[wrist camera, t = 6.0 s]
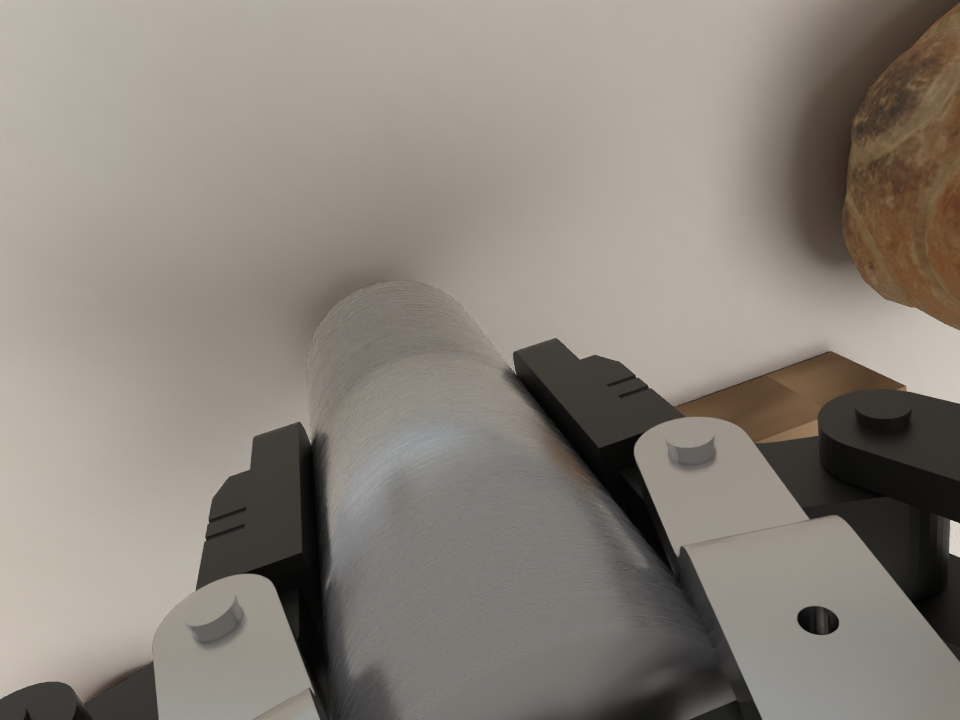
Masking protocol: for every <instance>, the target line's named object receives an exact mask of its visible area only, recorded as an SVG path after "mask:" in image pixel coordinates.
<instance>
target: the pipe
mask: <svg viewBox="0 0 960 720" xmlns="http://www.w3.org/2000/svg"><path fill="white" fill-rule="evenodd" d="M850 134H851V139H852V143H851V148H850V152H849V160H848V171H847V194H846V198H845V202H844V207H843V211H842V228H843V236H844V240H845V244H846V247H847V250H848V252H849V254H850V256H851V258H852V260H853V261H854V263H855V265H856V267H857V269H858V271H859V272H860V274H861V276H862V278H863V279H864V280H865V282H866V283H867V284H869V285H870V286H871V287H872V288H873V289H874V290H876V291H877V292H878V293H879V294H880V295H881V296H882V297H884V298H885V299H887V300H890V301H893V302H896V303H900V304H903V305H906V306H909V307H915V308H917V309H919V310H921V311H923V312H925V313H926V314H928V315H930V316H932V317H934V318H936V319H937V320H939V321H941V322H943V323H945V324H947V325H949V326H951V327H954V328H956V329H958V330H960V2H959V3H958V4H957V5H955V6H954V7H953V8H952V9H951V10H949V11H948V12H947V13H946V14H945V15H943V16H942V17H941V18H940V19H938V20H937V21H936V22H935V23H934V24H932V25H931V26H930V27H929V28H928V29H927V30H926V31H925V33H924V34H923V35H922V36H921V37H920V38H919V39H918V40H917V41H916V42H915V43H914V44H913V45H912V47H911V48H910V49H908V50H907V51H905V52H904V53H902V54H901V55H899V56H898V57H897V58H896V59H895V60H894V61H893V62H892V63H891V64H890V66H889V67H888V68H887V69H886V70H885V71H884V72H883V73H882V74H881V75H880V76H879V77H878V79H877V80H876V81H875V82H874V83H873V84H872V85H871V86H870V88H869V90H868V92H867V93H866V95H865V97H864V99H863V100H862V102H861V104H860V105H859V107H858V109H857V111H856V112H855V114H854V116H853V119H852V126H851V132H850Z"/></svg>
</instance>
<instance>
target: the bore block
mask: <svg viewBox="0 0 960 720" xmlns="http://www.w3.org/2000/svg"><path fill="white" fill-rule="evenodd" d="M872 389H890V390H900V391H906V386H905V385H903V384H901V383H898V382H896V381H894V380H892V379H890V378H888V377H886V376H883V375H881V374H879V373H877V372H875V371H873V370H871V369H868V368H866V367H864V366H862V365H860V364H858V363H856V362H853V361H851V360H849V359H847V358H845V357H843V356H840V355H838V354H836V353H834V352H832V351H831V352H828V353H826V354H823V355H820V356H817V357H814V358H812V359H809V360H806V361H803V362H800V363H798V364H795V365H792V366H789V367H786V368H784V369H781V370H778V371H775V372H773V373H770V374H767V375H764V376H761V377H759V378H756V379H753V380H750V381H747V382H745V383H742V384H739V385H736V386H733V387H731V388H728V389H725V390H722V391H719V392H717V393H714V394H711V395H708V396H705V397H703V398H700V399H697V400H694V401H692V402H689V403H686V404H683V405H680V406H678V407H675V409H677V410H678V411H679V412H680V413H681V414H683V415H684V416H685V417H710V418H717V419H722V420H725V421H728V422H731V423H733V424H735V425H737V426H739V427H740V428H741V429H743V430H744V431H745V432H746V433H747V434H748V436H749V437H750V439H751V440H752V441H753V443H770V442H778V441H785V440H792V439H799V438H806V437H813V436H818V419H817V417H818V413H819V411H820V410H821V408H822V407H823V406H824V405H825V404H826V403H827V402H829V401H831V400H832V399H834V398H836V397H839V396H841V395H844V394H847V393H851V392H856V391H862V390H872Z"/></svg>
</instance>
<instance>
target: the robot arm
mask: <svg viewBox="0 0 960 720" xmlns="http://www.w3.org/2000/svg"><path fill="white" fill-rule="evenodd" d="M513 359H514V366H515V370H516V374H517V377H518V378H519V379H520V380H521V382H522V383H523V384H524V385H525V387H526V388H527V389H528V391H529V392H530V393H531V394H532V396H533V397H534V398H535V399H536V401H537V402H538V403H539V405H540V406H541V407H542V408H543V410H544V411H545V412H546V413H547V415H548V416H549V417H550V418H551V420H552V421H553V422H554V424H555V425H556V426H557V427H558V429H559V430H560V431H561V432H562V434H563V435H564V436H565V438H566V439H567V440H568V441H569V443H570V444H571V445H572V446H573V448H574V449H575V450H576V452H577V453H578V454H579V455H580V457H581V458H582V459H583V460H584V462H585V463H586V464H587V465H588V467H589V468H590V469H591V471H592V472H593V473H594V474H595V476H596V477H597V478H598V479H599V481H600V482H601V483H602V485H603V486H604V487H605V488H606V490H607V491H608V492H609V493H610V495H611V496H612V497H613V498H614V500H615V501H616V502H617V504H618V505H619V506H620V507H621V509H622V510H623V511H624V512H625V514H626V515H627V516H628V518H629V519H630V520H631V521H632V523H633V524H634V525H635V526H636V528H637V529H638V530H639V531H640V533H641V534H642V535H643V537H644V538H645V539H646V540H647V542H648V543H649V544H650V545H651V547H652V548H653V549H654V551H655V552H656V553H657V554H658V556H659V557H660V558H661V559H662V561H663V562H664V563H665V564H666V566H667V567H668V568H669V570H670V571H671V572H672V573H673V575H674V576H675V578H676V580H677V581H678V583H679V584H680V586H681V587H682V589H683V590H684V592H685V594H686V596H687V598H688V599H689V601H690V603H691V605H692V607H693V609H694V610H695V612H696V614H697V616H698V618H699V620H700V621H701V623H702V625H703V627H704V629H705V631H706V633H707V635H708V637H709V639H710V641H711V643H712V645H713V647H714V649H715V653H716V660H717V667H719V668H721V670H722V671H723V672H724V674H725V676H726V678H727V679H728V681H729V683H730V686H731V688H732V690H733V692H734V695H735V697H736V700H735V701H732V702H730V703H728V704H725V705H723V706H720V707H718V708H716V709H713V710H711V711H708V712H706V713H704V714H701V715H699V716H696V717H694V718H692V719H689V720H960V557H957V556H955V555H952V554H950V553H949V536H950V520H953V521H955V522H958V523H960V404H958V403H954V402H950V401H945V400H941V399H937V398H933V397H929V396H925V395H920V394H916V393H912V392H907V391H900V390H890V389H872V390H862V391H856V392H851V393H847V394H844V395H841V396H839V397H836V398H834V399H832V400H831V401H829V402H827V403H826V404H825V405H824V406H823V407H822V408H821V410H820V411H819V413H818V417H817V419H818V436H813V437H806V438H799V439H792V440H785V441H778V442H770V443H753V441H752V440H751V439H750V437H749V436H748V434H747V433H746V432H745V431H744V430H743V429H741V428H740V427H739V426H737V425H735V424H733V423H731V422H728V421H725V420H722V419H717V418H710V417H685V416H684V415H683V414H681V413H680V412H679V411H678V410H677V409H675V408H674V407H673V406H672V405H671V404H669V403H668V402H667V401H666V400H665V399H663V398H662V397H661V396H660V395H659V394H657V393H656V392H655V391H654V390H653V389H649V388H648V385H647V384H645V383H644V382H643V381H642V380H641V379H639V378H636V376H635V374H633V373H632V372H631V371H630V370H629V369H627V368H626V367H625V366H624V365H623V364H621V363H620V362H618V361H614V360H611V359H607V358H604V357H600V356H597V355H593V356H590V357H587V358H584V359H581V360H580V359H578V358H577V357H576V356H575V355H574V354H573V353H572V352H571V351H570V350H569V349H568V348H567V347H566V346H565V345H564V344H562V343H561V342H560V341H559V340H558V339H557V338H554V339H551V340H548V341H545V342H542V343H539V344H536V345H533V346H530V347H527V348H524V349H521V350H517V351H515V352H514V354H513ZM209 523H210V524H208V526H207V531H206V537H205V538H206V542H204V548H203V553H202V559H201V564H200V570H199V575H198V581H197V586H196V591H195V592H194V593H192V594H191V595H189V596H188V597H186V598H185V599H184V600H183V601H181V602H180V603H179V604H178V605H177V606H176V607H175V608H174V609H172V610H171V612H170V613H169V614H168V615H167V616H166V617H165V618H164V620H163V621H162V623H161V624H160V626H159V627H158V629H157V631H156V633H155V636H154V640H153V646H152V651H153V662H151V663H150V664H149V665H147V666H146V667H145V668H143V669H142V670H140V671H139V672H137V673H136V674H134V675H133V676H131V677H129V678H128V679H126V680H124V681H123V682H121V683H119V684H118V685H116V686H114V687H112V688H111V689H109V690H107V691H106V692H104V693H102V694H101V695H99V696H97V697H96V698H94V699H92V700H91V701H89V702H87V703H85V704H84V705H83V704H82V702H81V701H80V699H79V698H78V696H77V695H76V693H75V692H74V690H73V689H72V688H71V687H70V686H68V685H67V684H65V683H60V682H45V683H39V684H35V685H32V686H28V687H26V688H23V689H21V690H18V691H16V692H14V693H12V694H10V695H8V696H6V697H4V698H2V699H0V720H329V712H328V697H327V681H326V665H325V650H324V634H323V618H322V603H321V587H320V572H319V556H318V540H317V525H316V509H315V493H314V478H313V462H312V446H311V444H310V441H309V439H308V436H307V434H306V432H305V429H304V427H303V426H302V424H301V423H300V422H297V423H294V424H291V425H288V426H285V427H282V428H279V429H276V430H273V431H270V432H267V433H263V434H260V435H257V436H254V438H253V446H252V456H251V466H250V470H248V471H245V472H242V473H239V474H236V475H233V476H230V477H229V478H228V479H227V480H226V482H225V483H224V484H223V486H222V487H221V488H220V490H219V491H218V492H217V494H216V495H215V496H214V498H213V499H212V504H211V509H210V515H209Z"/></svg>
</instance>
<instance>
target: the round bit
mask: <svg viewBox="0 0 960 720" xmlns="http://www.w3.org/2000/svg"><path fill="white" fill-rule="evenodd" d="M307 384H308V400H309V415H310V431H311V446H312V462H313V478H314V493H315V509H316V525H317V540H318V556H319V572H320V587H321V603H322V618H323V634H324V650H325V665H326V681H327V697H328V712H329V720H689V719H692V718H694V717H696V716H699V715H701V714H704V713H706V712H708V711H711V710H713V709H716V708H718V707H720V706H723V705H725V704H728V703H730V702H732V701H735V700H736V697H735V695H734V692H733V690H732V688H731V686H730V683H729V681H728V679H727V678H726V676H725V674H724V672H723V671H722V670H721V668H719V667H717V660H716V653H715V649H714V647H713V645H712V643H711V641H710V639H709V637H708V635H707V633H706V631H705V629H704V627H703V625H702V623H701V621H700V620H699V618H698V616H697V614H696V612H695V610H694V609H693V607H692V605H691V603H690V601H689V599H688V598H687V596H686V594H685V592H684V590H683V589H682V587H681V586H680V584H679V583H678V581H677V580H676V578H675V576H674V575H673V573H672V572H671V571H670V570H669V568H668V567H667V566H666V564H665V563H664V562H663V561H662V559H661V558H660V557H659V556H658V554H657V553H656V552H655V551H654V549H653V548H652V547H651V545H650V544H649V543H648V542H647V540H646V539H645V538H644V537H643V535H642V534H641V533H640V531H639V530H638V529H637V528H636V526H635V525H634V524H633V523H632V521H631V520H630V519H629V518H628V516H627V515H626V514H625V512H624V511H623V510H622V509H621V507H620V506H619V505H618V504H617V502H616V501H615V500H614V498H613V497H612V496H611V495H610V493H609V492H608V491H607V490H606V488H605V487H604V486H603V485H602V483H601V482H600V481H599V479H598V478H597V477H596V476H595V474H594V473H593V472H592V471H591V469H590V468H589V467H588V465H587V464H586V463H585V462H584V460H583V459H582V458H581V457H580V455H579V454H578V453H577V452H576V450H575V449H574V448H573V446H572V445H571V444H570V443H569V441H568V440H567V439H566V438H565V436H564V435H563V434H562V432H561V431H560V430H559V429H558V427H557V426H556V425H555V424H554V422H553V421H552V420H551V418H550V417H549V416H548V415H547V413H546V412H545V411H544V410H543V408H542V407H541V406H540V405H539V403H538V402H537V401H536V399H535V398H534V397H533V396H532V394H531V393H530V392H529V391H528V389H527V388H526V387H525V385H524V384H523V383H522V382H521V380H520V379H519V378H518V377H517V375H516V374H515V373H514V372H513V370H512V369H511V368H510V366H509V365H508V364H507V363H506V361H505V360H504V359H503V358H502V356H501V355H500V354H499V352H498V351H497V350H496V349H495V347H494V346H493V345H492V344H491V342H490V341H489V340H488V339H487V337H486V336H485V335H484V333H483V332H482V331H481V330H480V328H479V327H478V326H477V325H476V323H475V322H474V321H473V319H472V318H471V317H470V316H469V314H468V313H467V312H466V311H465V310H464V309H463V307H462V306H461V305H460V304H459V303H458V302H457V301H455V300H454V299H453V298H452V297H450V296H449V295H447V294H446V293H444V292H442V291H441V290H439V289H436V288H434V287H432V286H429V285H426V284H422V283H419V282H412V281H397V280H395V281H386V282H380V283H376V284H372V285H369V286H366V287H364V288H361V289H359V290H357V291H355V292H353V293H351V294H349V295H348V296H346V297H345V298H344V299H342V300H341V301H339V302H338V303H337V304H336V305H335V306H334V307H333V308H332V309H331V310H330V311H329V312H328V313H327V314H326V316H325V317H324V318H323V319H322V321H321V322H320V324H319V326H318V327H317V329H316V331H315V333H314V335H313V338H312V340H311V343H310V347H309V350H308V357H307Z"/></svg>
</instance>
